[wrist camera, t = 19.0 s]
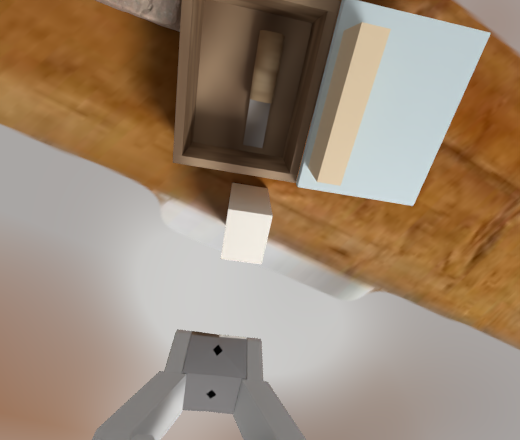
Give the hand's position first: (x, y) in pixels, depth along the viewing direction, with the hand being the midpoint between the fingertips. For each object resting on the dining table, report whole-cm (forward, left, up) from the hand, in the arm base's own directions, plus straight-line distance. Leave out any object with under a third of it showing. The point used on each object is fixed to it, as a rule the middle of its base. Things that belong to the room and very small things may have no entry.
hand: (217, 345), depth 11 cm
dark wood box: (0, -8, -27) cm, 28 cm away
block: (-2, +6, -27) cm, 28 cm away
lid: (-12, -8, -20) cm, 24 cm away
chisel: (-1, -7, -26) cm, 27 cm away
